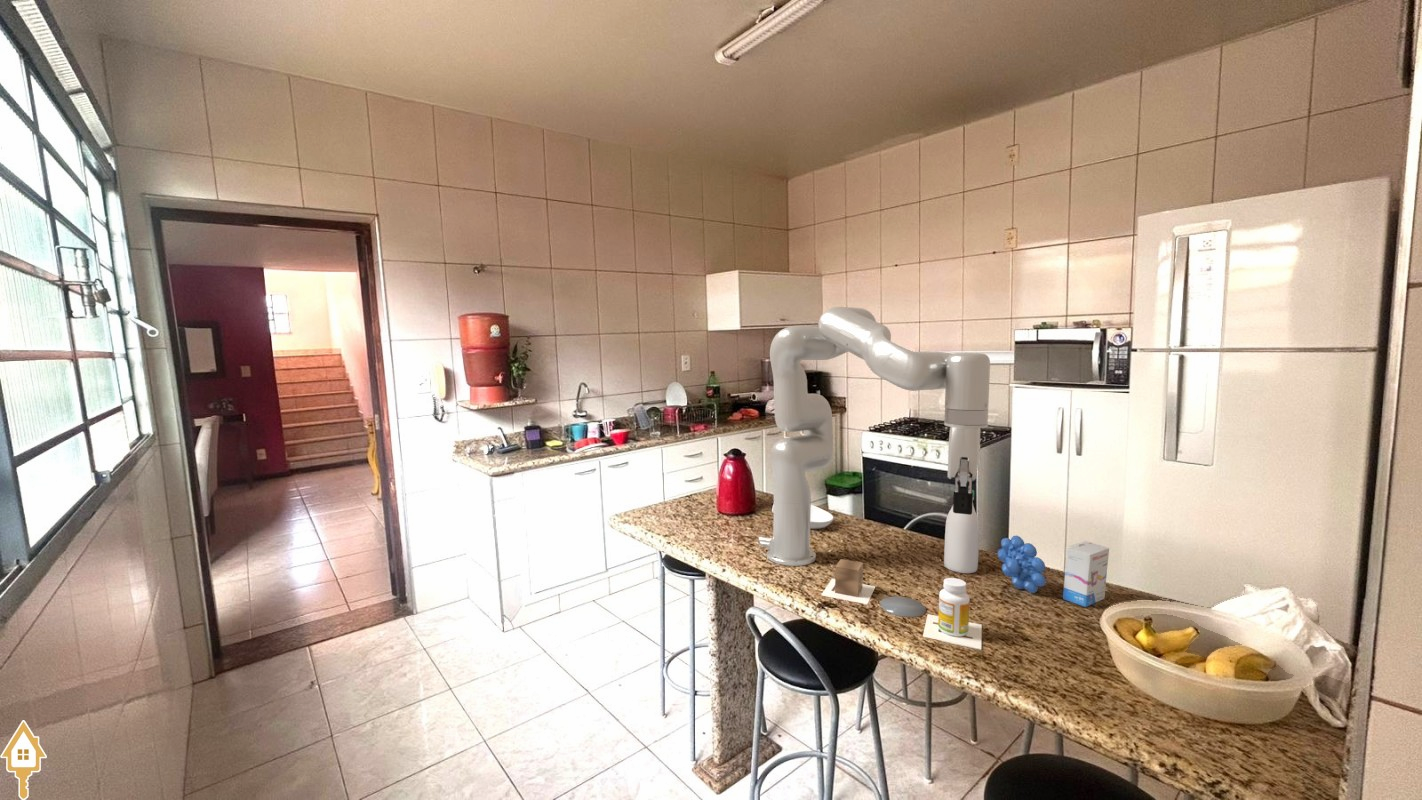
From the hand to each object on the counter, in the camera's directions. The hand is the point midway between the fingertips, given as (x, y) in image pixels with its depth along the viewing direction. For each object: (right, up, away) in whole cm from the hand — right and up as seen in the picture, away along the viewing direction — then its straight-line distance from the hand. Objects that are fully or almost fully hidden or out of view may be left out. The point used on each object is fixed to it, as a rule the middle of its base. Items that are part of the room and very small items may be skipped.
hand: (962, 506), depth 108 cm
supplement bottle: (-2, -24, +1) cm, 24 cm away
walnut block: (-17, -22, +18) cm, 34 cm away
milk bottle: (+14, -22, +32) cm, 41 cm away
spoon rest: (-20, -18, +70) cm, 75 cm away
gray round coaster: (-8, -23, +10) cm, 27 cm away
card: (-2, -24, +1) cm, 24 cm away
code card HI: (-17, -23, +18) cm, 34 cm away
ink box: (+33, -23, +15) cm, 43 cm away
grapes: (+21, -23, +20) cm, 37 cm away
